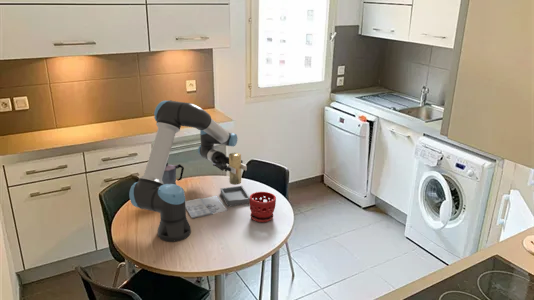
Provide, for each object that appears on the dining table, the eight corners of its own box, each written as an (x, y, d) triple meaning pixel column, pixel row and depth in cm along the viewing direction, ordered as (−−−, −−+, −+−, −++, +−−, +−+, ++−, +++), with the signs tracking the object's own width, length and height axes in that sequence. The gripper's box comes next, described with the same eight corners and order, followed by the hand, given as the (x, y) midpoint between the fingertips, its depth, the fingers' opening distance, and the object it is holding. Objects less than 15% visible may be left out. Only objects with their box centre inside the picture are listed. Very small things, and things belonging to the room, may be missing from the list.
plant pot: (272, 225, 207) (273, 203, 202) (246, 222, 209) (246, 201, 205) (277, 213, 219) (278, 192, 214) (252, 210, 221) (252, 189, 217)
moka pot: (155, 194, 236) (152, 161, 230) (183, 189, 243) (180, 157, 236) (159, 201, 228) (156, 167, 221) (187, 196, 235) (185, 163, 228)
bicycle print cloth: (181, 203, 228) (181, 200, 227) (217, 197, 236) (217, 193, 235) (191, 220, 212) (191, 216, 211) (229, 212, 220) (229, 208, 219)
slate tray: (250, 203, 228) (250, 198, 227) (228, 206, 224) (228, 201, 223) (242, 190, 243) (242, 185, 242) (220, 193, 239) (220, 188, 238)
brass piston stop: (242, 183, 229) (242, 156, 223) (231, 185, 227) (230, 157, 221) (239, 179, 234) (239, 152, 229) (228, 180, 232) (227, 153, 227)
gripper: (230, 159, 247) (255, 171, 231) (202, 167, 236) (225, 181, 219) (230, 147, 245) (255, 159, 228) (201, 154, 233) (225, 167, 217)
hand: (240, 169), depth 224 cm, fingers closed on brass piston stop, 6 cm apart
